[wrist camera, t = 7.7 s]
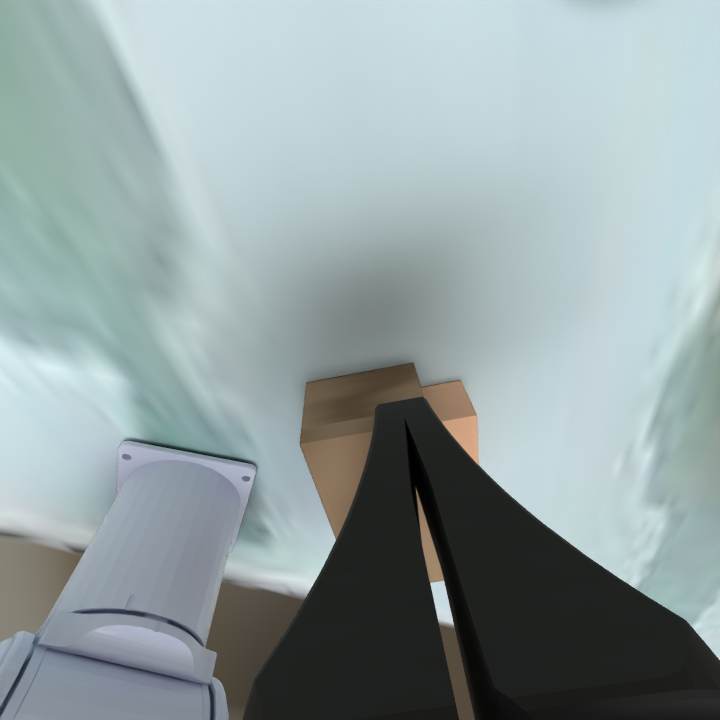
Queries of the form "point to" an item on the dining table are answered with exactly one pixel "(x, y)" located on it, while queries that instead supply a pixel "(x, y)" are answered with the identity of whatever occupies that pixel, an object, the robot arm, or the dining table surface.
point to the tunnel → (353, 439)
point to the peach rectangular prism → (455, 413)
